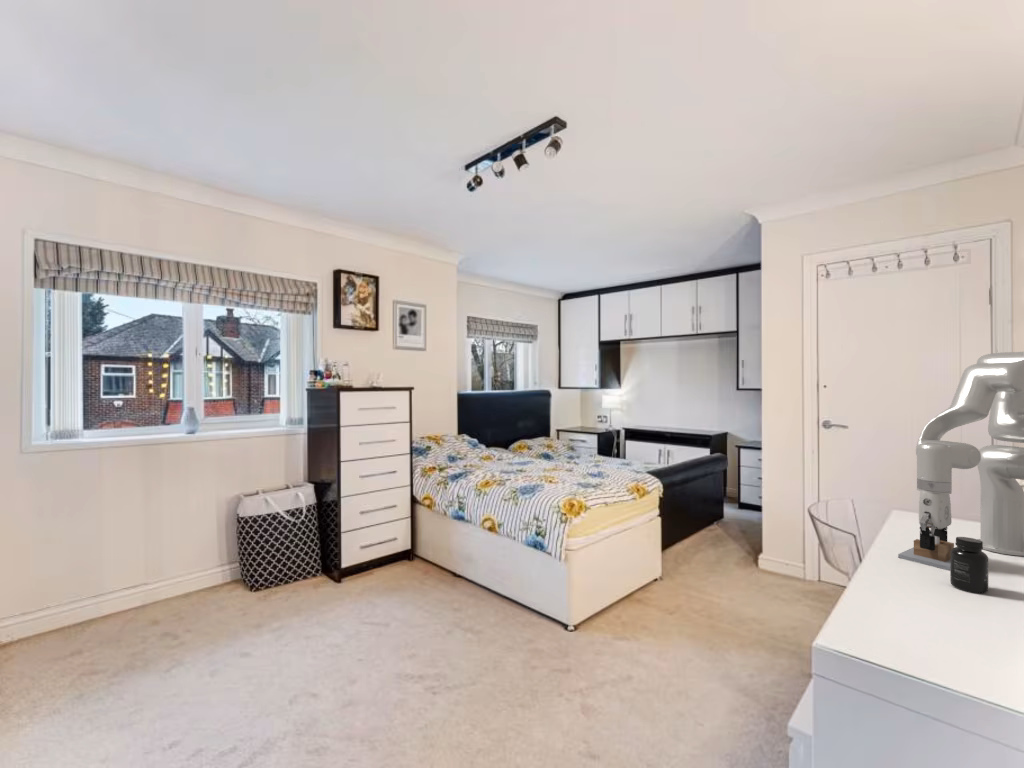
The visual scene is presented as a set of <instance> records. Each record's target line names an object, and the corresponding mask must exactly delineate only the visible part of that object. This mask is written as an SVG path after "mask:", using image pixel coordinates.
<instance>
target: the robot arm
mask: <svg viewBox="0 0 1024 768" xmlns="http://www.w3.org/2000/svg"><path fill="white" fill-rule="evenodd" d="M988 415H989V418H988ZM986 418H988V425H987V426H988V427H987V431H988V435H989V436H990V438H992V439H994V440H996V441H1001V442H1008V443H1009V442H1010V443H1019V444H1024V351H1014V352H1013V351H1012V352H1011V351H1007V352H996V353H987V354H985V355H982V356H980V357H979V358H978V359H977V360H976V363H975V364H971V365H969V366H967V367H966V368H965V369H964V370H963V372H962V375H961V377H960V380H959V381H958V385H957V388H956V391H955V392H954V396H953V398H952V401H951V403H950V405H949V407H948V408H947V409H945V410H943V411H941V412H940V413H939V414H937V415H936V416H934V417H933V418H931V420H930V421H928V422H927V423H926V424H925V425H924V426H923V428H922V430H921V432H920V434H919V438H918V440H917V442H916V443H917V444H916V447H915V455H916V491H919V499H918V500H919V501H918V523H919V525H920V526H919V540H920V548H923V549H928V550H932V551H934V550H935V536H938V537H940V540H942V541H946V542H948V527H949V526H951V525H952V507H951V506H952V504H951V497H950V495H951V494H952V491H953V490H952V486H953V485H952V482H953V481H952V476H953V475H952V473H953V472H952V470H953V469H959V470H969V469H970V470H971V469H972V468H975V467H977V469H978V473H979V474H978V475H979V480H980V538H978V540H980V541H982V542H983V550H985V551H988V552H993V553H998V554H1002V555H1009V556H1017V557H1018V556H1019V557H1021V556H1022V557H1024V488H1022V486H1021V484H1020V483H1019V482H1018V481H1017V480H1021V481H1022V480H1023V481H1024V447H1019V446H1013V445H1003V444H991V445H990V444H989V445H986V446H982V447H981V448H980V449H978V448H977V447H976V446H974V445H972V444H971V443H966V442H959V441H958V442H957V441H949V440H941V439H942V438H943V437H944V435H945V434H947V433H948V432H949V431H951V430H954V429H956V428H959V427H963V426H966V425H968V424H969V425H970V424H973V423H976V422H979V421H982V420H984V419H986Z"/></svg>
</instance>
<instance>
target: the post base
mask: <svg viewBox="0 0 1024 768" xmlns="http://www.w3.org/2000/svg"><path fill="white" fill-rule="evenodd" d="M935 544H938V545H940V537H938V536H935ZM897 557H898V558H899V559H903V560H906V561H909V562H915V563H919V564H923V565H927V566H931V567H935V568H939V569H942V570H947V571H950V560H948V561H946V562H943V561H939V560H935V559H931V558H927V557H923V556H918V555H914V546H913V547H911V548H908V549H907V550H904V551H903V552H899V553H898V555H897Z"/></svg>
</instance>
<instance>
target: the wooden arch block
mask: <svg viewBox="0 0 1024 768" xmlns="http://www.w3.org/2000/svg"><path fill="white" fill-rule="evenodd" d="M913 547H914V555H918V556H923V557H927V558H931V559H935V560H939V561H943V562H946V561H948V560H950V553H951V550H952V549H953V548H955V542H950V541H947V542H946V541H942V540H940V545H938V544H935V550H934V551H932V550H928V549H923V548H920V538H919V539H918V538H916V539H914V540H913Z"/></svg>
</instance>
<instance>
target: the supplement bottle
mask: <svg viewBox="0 0 1024 768" xmlns="http://www.w3.org/2000/svg"><path fill="white" fill-rule="evenodd" d="M978 539H979V538H978ZM978 539H977V538H973V537H967V536H957V537H955V542H954V548H953V549H952V550H951V553H950V570H949V572H950V576H949V577H950V580H949V581H950V584H951V586H952V587H953V588H956V589H958V590H961V591H964V592H969V593H972V594H973V593H974V594H986V593H988V592H989V557H988V554H987V553H985V552H984V551H983V550H984V549H983V542H982V541H980V540H978Z"/></svg>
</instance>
